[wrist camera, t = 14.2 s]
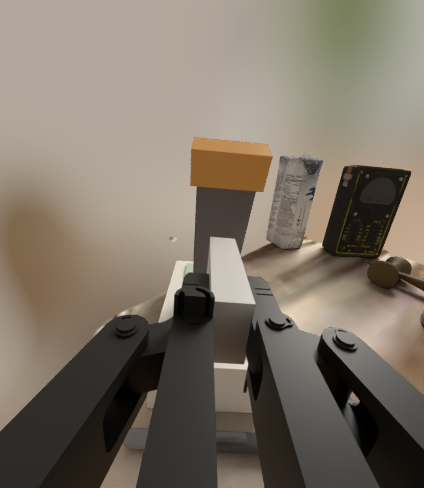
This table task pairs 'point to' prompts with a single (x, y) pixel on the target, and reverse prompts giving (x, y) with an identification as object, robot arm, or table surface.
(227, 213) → the lever
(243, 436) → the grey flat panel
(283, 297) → the table surface
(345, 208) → the voltmeter
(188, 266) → the breaker housing
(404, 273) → the kendama
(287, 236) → the juice carton
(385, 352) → the table surface
